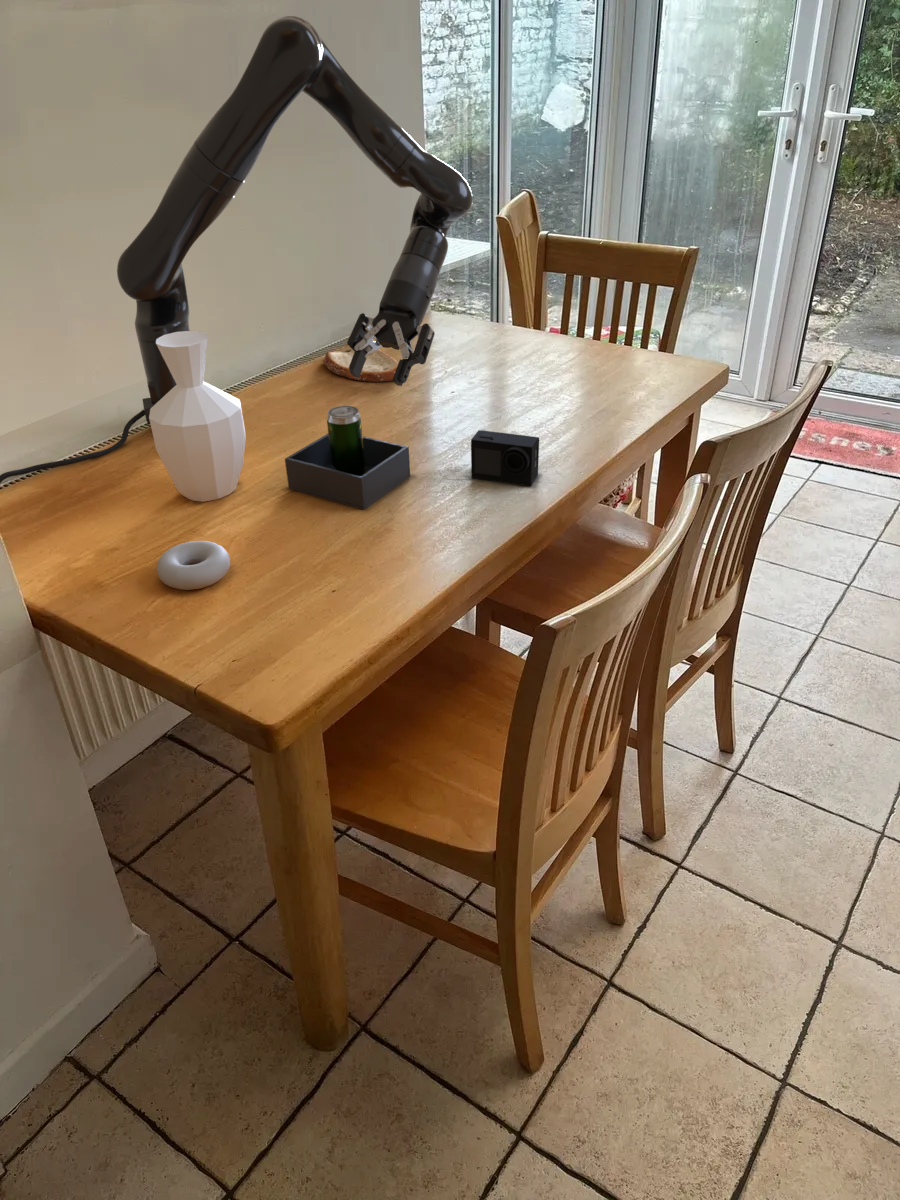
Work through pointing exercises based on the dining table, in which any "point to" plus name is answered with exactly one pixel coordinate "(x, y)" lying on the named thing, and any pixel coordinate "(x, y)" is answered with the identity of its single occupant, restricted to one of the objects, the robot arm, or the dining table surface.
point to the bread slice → (373, 370)
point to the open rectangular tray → (318, 478)
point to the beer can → (346, 440)
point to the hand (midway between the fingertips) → (375, 379)
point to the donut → (193, 565)
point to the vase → (197, 423)
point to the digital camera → (504, 457)
